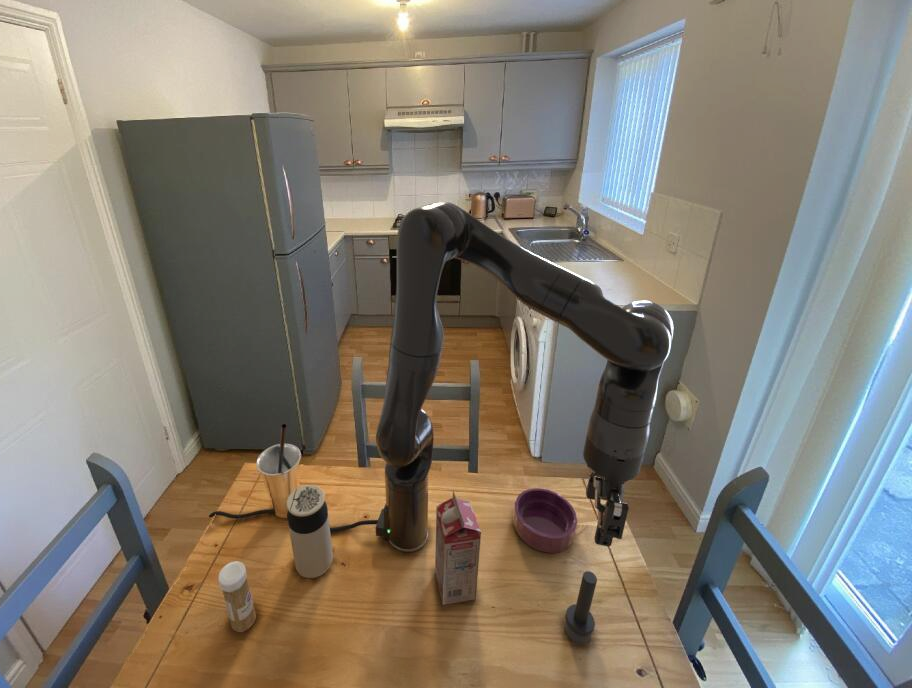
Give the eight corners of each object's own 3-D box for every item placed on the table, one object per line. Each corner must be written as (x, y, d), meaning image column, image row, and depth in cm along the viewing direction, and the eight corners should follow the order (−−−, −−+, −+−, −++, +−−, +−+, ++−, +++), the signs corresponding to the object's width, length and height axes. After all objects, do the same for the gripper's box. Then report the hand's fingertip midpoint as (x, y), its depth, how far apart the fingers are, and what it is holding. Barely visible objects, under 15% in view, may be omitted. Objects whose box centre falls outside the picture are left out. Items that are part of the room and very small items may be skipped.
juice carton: (442, 604, 81) (445, 523, 73) (435, 571, 87) (436, 493, 79) (475, 599, 82) (482, 518, 74) (465, 566, 88) (470, 488, 80)
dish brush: (564, 641, 75) (576, 587, 70) (562, 613, 80) (573, 560, 74) (593, 649, 74) (607, 595, 68) (589, 620, 78) (603, 567, 73)
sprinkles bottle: (255, 629, 78) (243, 581, 73) (229, 636, 77) (215, 588, 72) (257, 604, 82) (246, 557, 77) (232, 610, 81) (220, 563, 76)
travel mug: (337, 546, 93) (330, 485, 86) (326, 581, 86) (318, 518, 79) (303, 541, 94) (294, 481, 87) (289, 576, 87) (278, 513, 80)
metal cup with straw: (301, 531, 97) (284, 426, 85) (256, 523, 99) (234, 420, 87) (318, 494, 107) (306, 395, 95) (277, 487, 109) (260, 390, 97)
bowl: (512, 547, 92) (514, 531, 90) (513, 498, 104) (514, 483, 102) (577, 560, 89) (581, 544, 87) (570, 509, 101) (573, 493, 99)
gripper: (581, 404, 67) (567, 481, 73) (596, 469, 54) (577, 555, 61) (632, 411, 65) (613, 489, 72) (660, 480, 53) (634, 567, 59)
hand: (597, 519), depth 66 cm, fingers open, 8 cm apart
